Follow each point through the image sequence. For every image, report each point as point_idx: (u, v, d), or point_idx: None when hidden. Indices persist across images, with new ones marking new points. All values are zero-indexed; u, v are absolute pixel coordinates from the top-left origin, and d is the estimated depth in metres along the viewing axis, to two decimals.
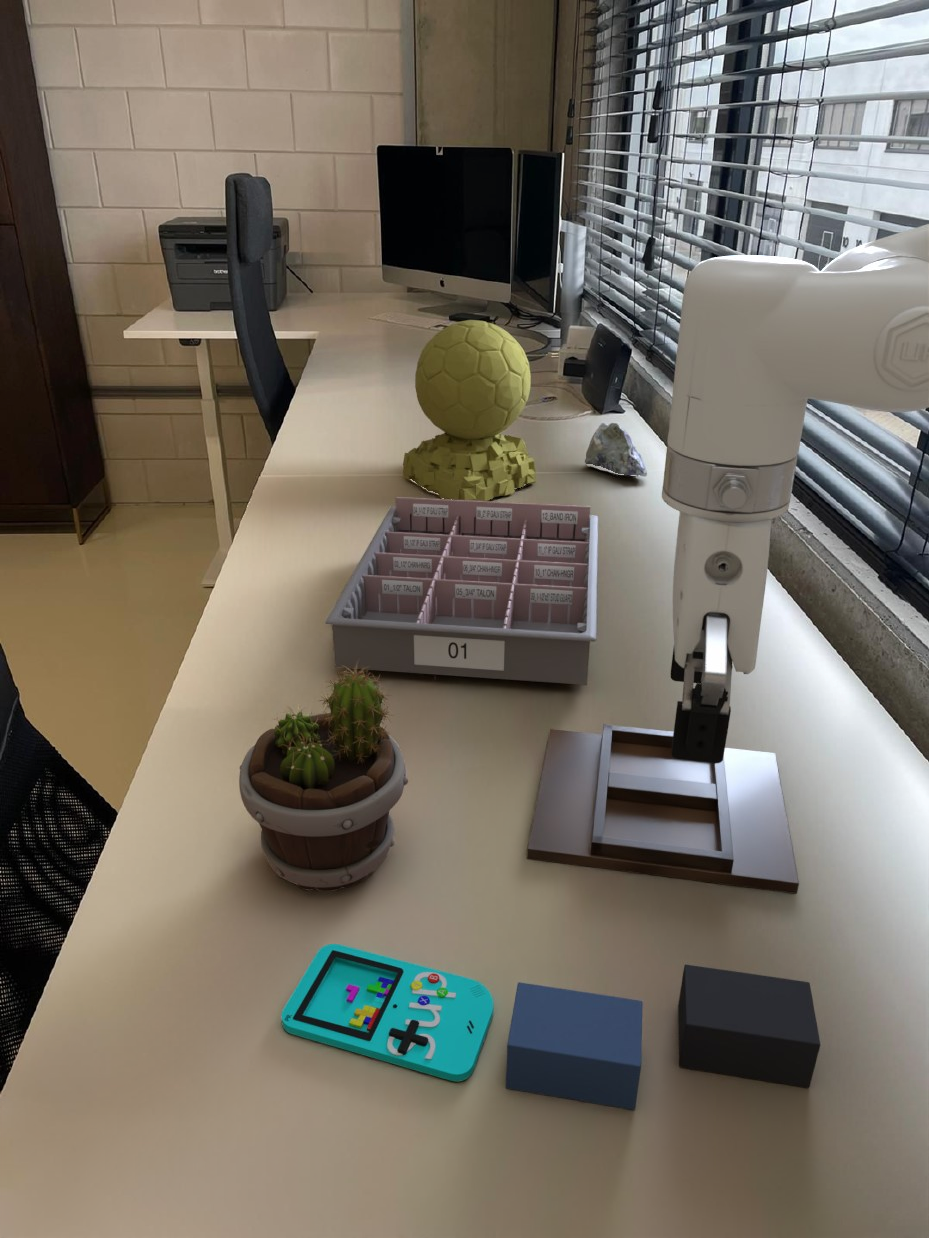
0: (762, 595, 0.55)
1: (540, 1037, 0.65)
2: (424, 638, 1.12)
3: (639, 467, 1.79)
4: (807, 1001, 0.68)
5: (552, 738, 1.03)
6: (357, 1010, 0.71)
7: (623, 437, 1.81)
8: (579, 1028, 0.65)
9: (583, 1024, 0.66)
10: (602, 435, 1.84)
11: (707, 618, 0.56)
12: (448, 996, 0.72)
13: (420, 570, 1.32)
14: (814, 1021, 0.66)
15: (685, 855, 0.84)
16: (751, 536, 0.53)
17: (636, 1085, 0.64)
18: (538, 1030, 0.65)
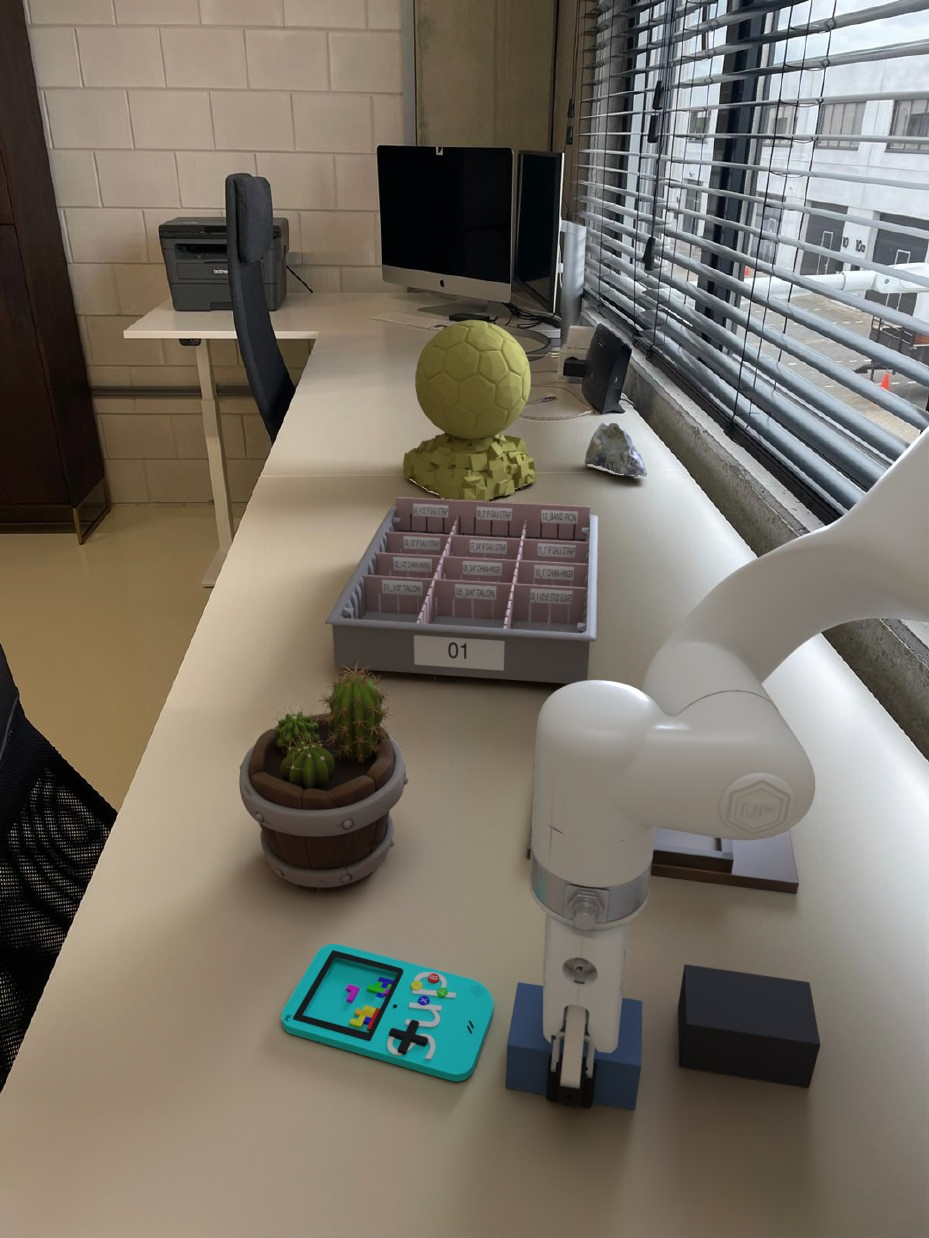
0: (618, 993, 0.58)
1: (540, 1037, 0.65)
2: (424, 638, 1.12)
3: (639, 467, 1.79)
4: (807, 1001, 0.68)
5: None
6: (357, 1010, 0.71)
7: (623, 437, 1.81)
8: None
9: None
10: (602, 435, 1.84)
11: (567, 1014, 0.59)
12: (448, 996, 0.72)
13: (420, 570, 1.32)
14: (814, 1021, 0.66)
15: (685, 855, 0.84)
16: (604, 947, 0.56)
17: (636, 1085, 0.64)
18: (538, 1030, 0.65)
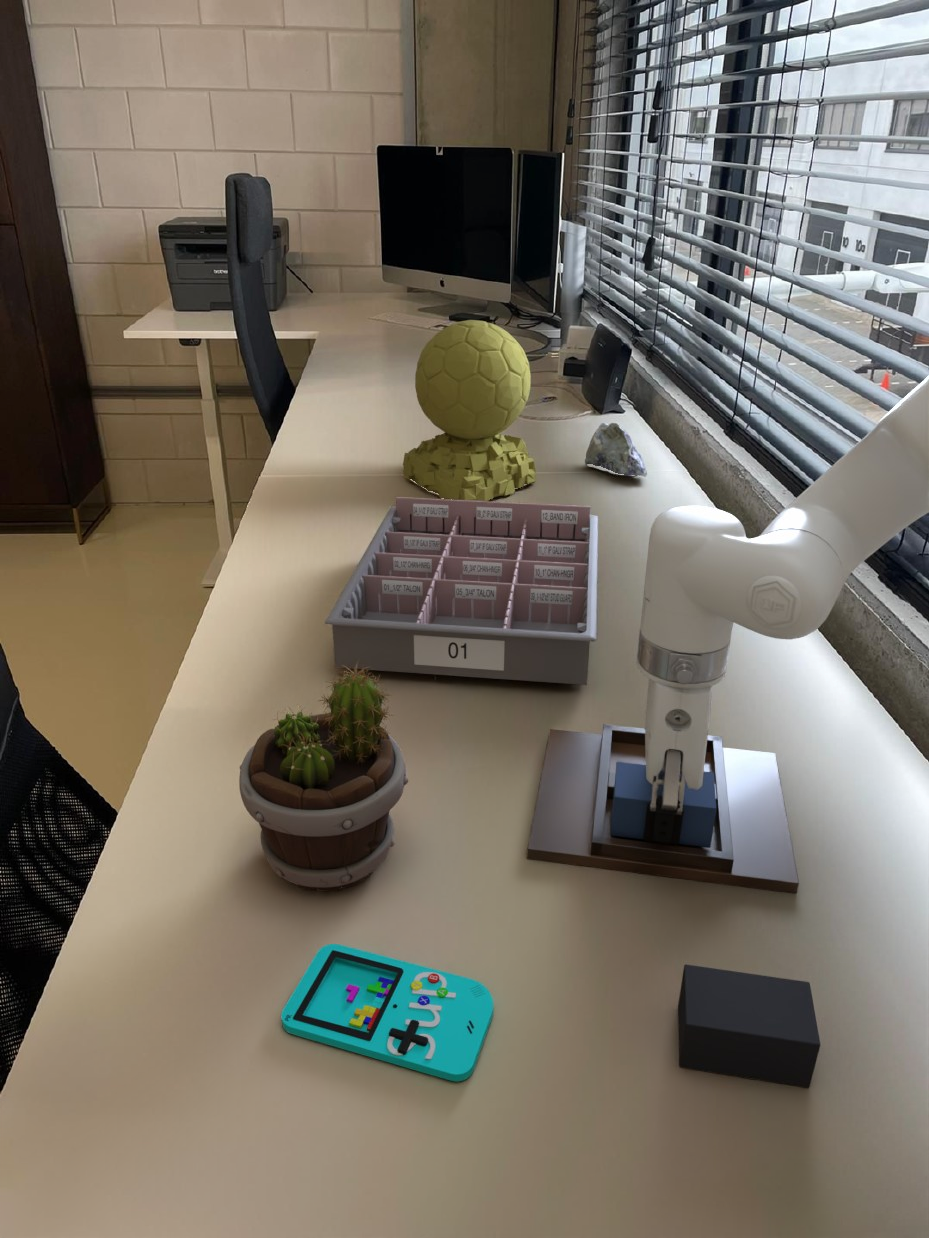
0: (705, 738, 0.78)
1: (638, 792, 0.86)
2: (424, 638, 1.12)
3: (639, 467, 1.79)
4: (807, 1001, 0.68)
5: (552, 738, 1.03)
6: (357, 1010, 0.71)
7: (623, 437, 1.81)
8: None
9: None
10: (602, 435, 1.84)
11: (667, 757, 0.80)
12: (448, 996, 0.72)
13: (420, 570, 1.32)
14: (814, 1021, 0.66)
15: (685, 855, 0.84)
16: (697, 700, 0.77)
17: (712, 825, 0.85)
18: (636, 788, 0.86)
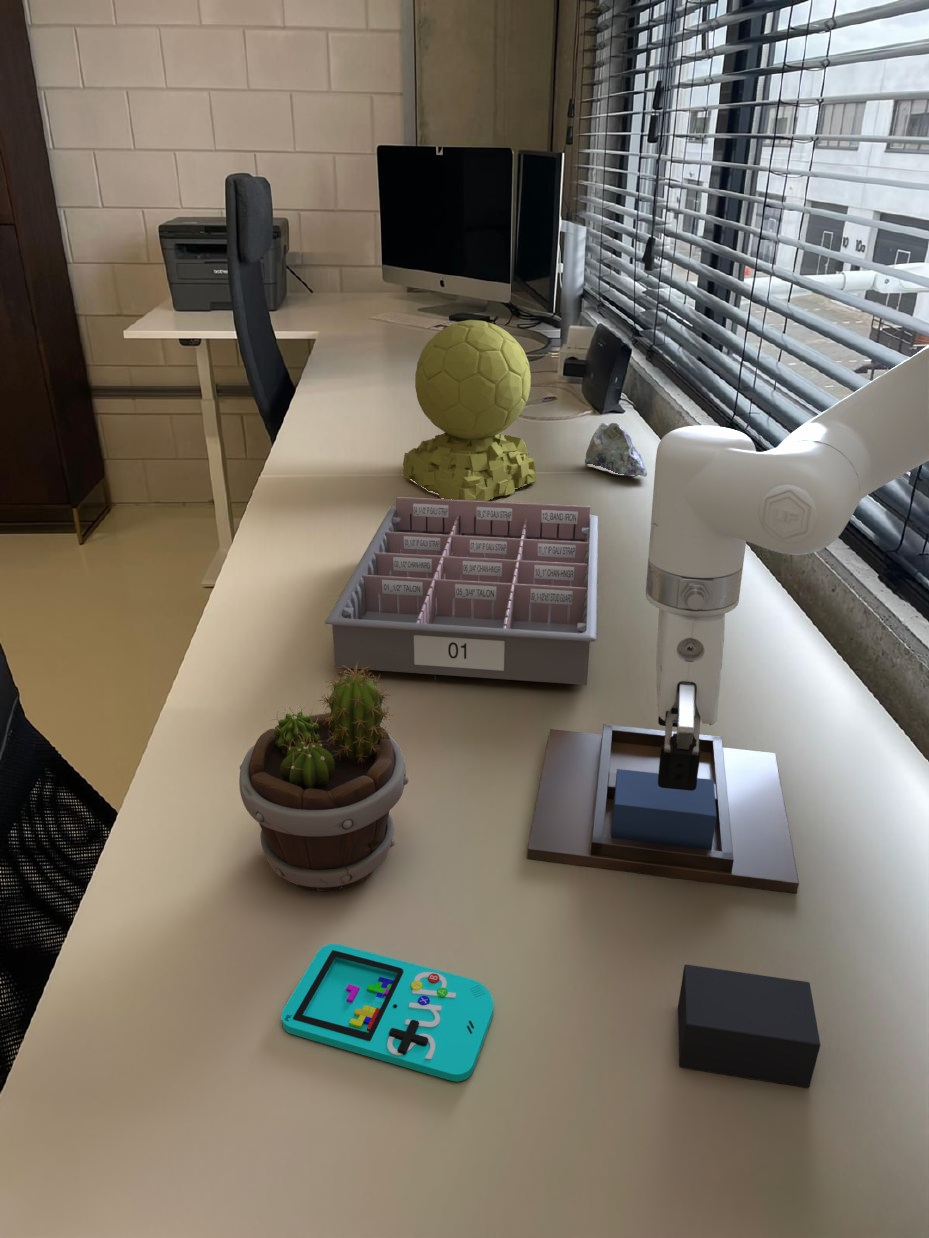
0: (719, 668, 0.75)
1: (638, 800, 0.86)
2: (424, 638, 1.12)
3: (639, 467, 1.79)
4: (807, 1001, 0.68)
5: (552, 738, 1.03)
6: (357, 1010, 0.71)
7: (623, 437, 1.81)
8: (667, 795, 0.87)
9: (670, 793, 0.87)
10: (602, 435, 1.84)
11: (680, 685, 0.76)
12: (448, 996, 0.72)
13: (420, 570, 1.32)
14: (814, 1021, 0.66)
15: (685, 855, 0.84)
16: (709, 627, 0.74)
17: (712, 833, 0.85)
18: (636, 796, 0.86)
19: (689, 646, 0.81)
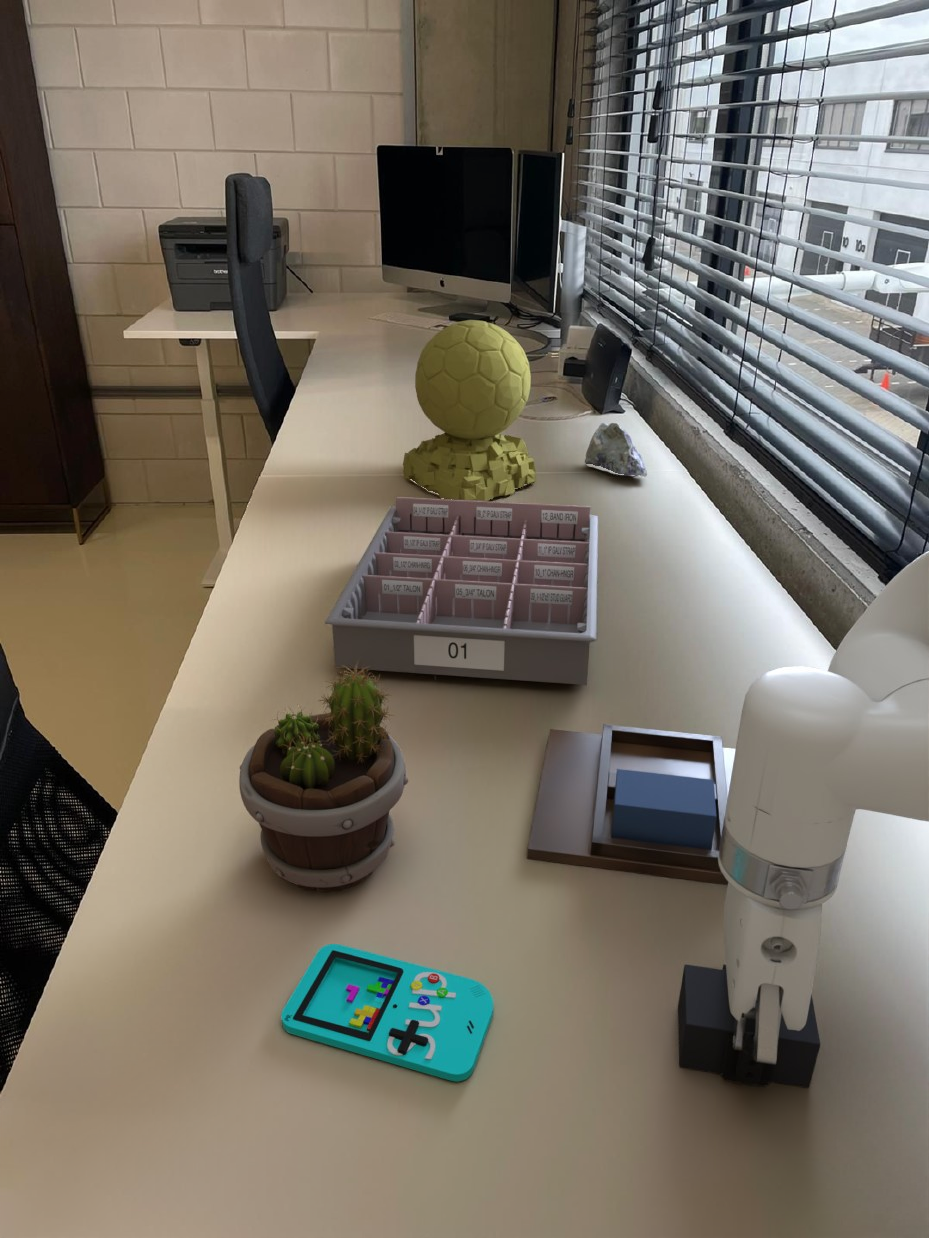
0: (814, 971, 0.59)
1: (638, 800, 0.86)
2: (424, 638, 1.12)
3: (639, 467, 1.79)
4: None
5: (552, 738, 1.03)
6: (357, 1010, 0.71)
7: (623, 437, 1.81)
8: (667, 795, 0.87)
9: (670, 793, 0.87)
10: (602, 435, 1.84)
11: (761, 993, 0.60)
12: (448, 996, 0.72)
13: (420, 570, 1.32)
14: (814, 1021, 0.66)
15: (685, 855, 0.84)
16: (805, 926, 0.58)
17: (712, 833, 0.85)
18: (636, 796, 0.86)
19: None
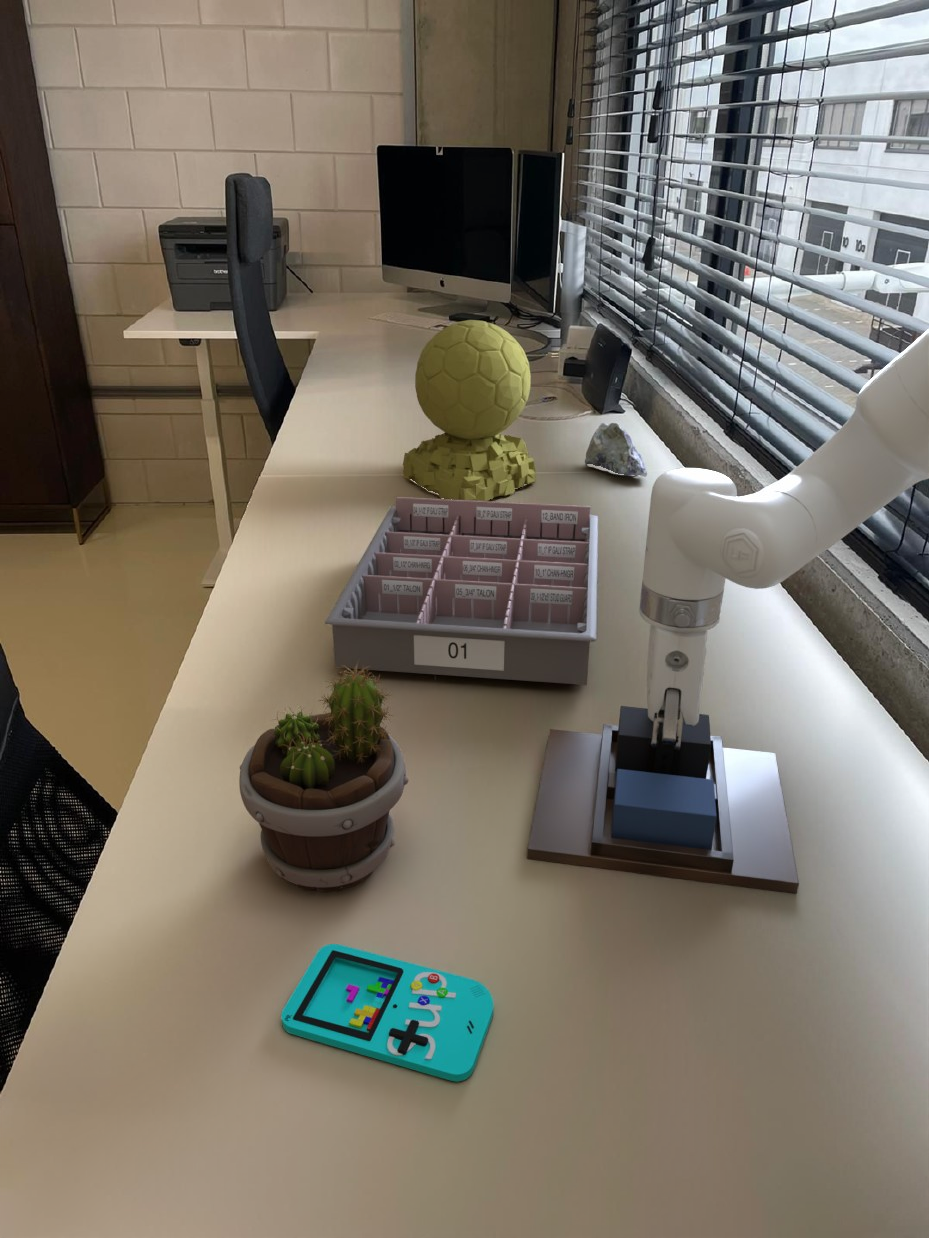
0: (701, 677, 0.87)
1: (638, 800, 0.86)
2: (424, 638, 1.12)
3: (639, 467, 1.79)
4: (705, 724, 0.96)
5: (552, 738, 1.03)
6: (357, 1010, 0.71)
7: (623, 437, 1.81)
8: (667, 795, 0.87)
9: (670, 793, 0.87)
10: (602, 435, 1.84)
11: (666, 695, 0.88)
12: (448, 996, 0.72)
13: (420, 570, 1.32)
14: (708, 733, 0.94)
15: (685, 855, 0.84)
16: (693, 642, 0.86)
17: (712, 833, 0.85)
18: (636, 796, 0.86)
19: None
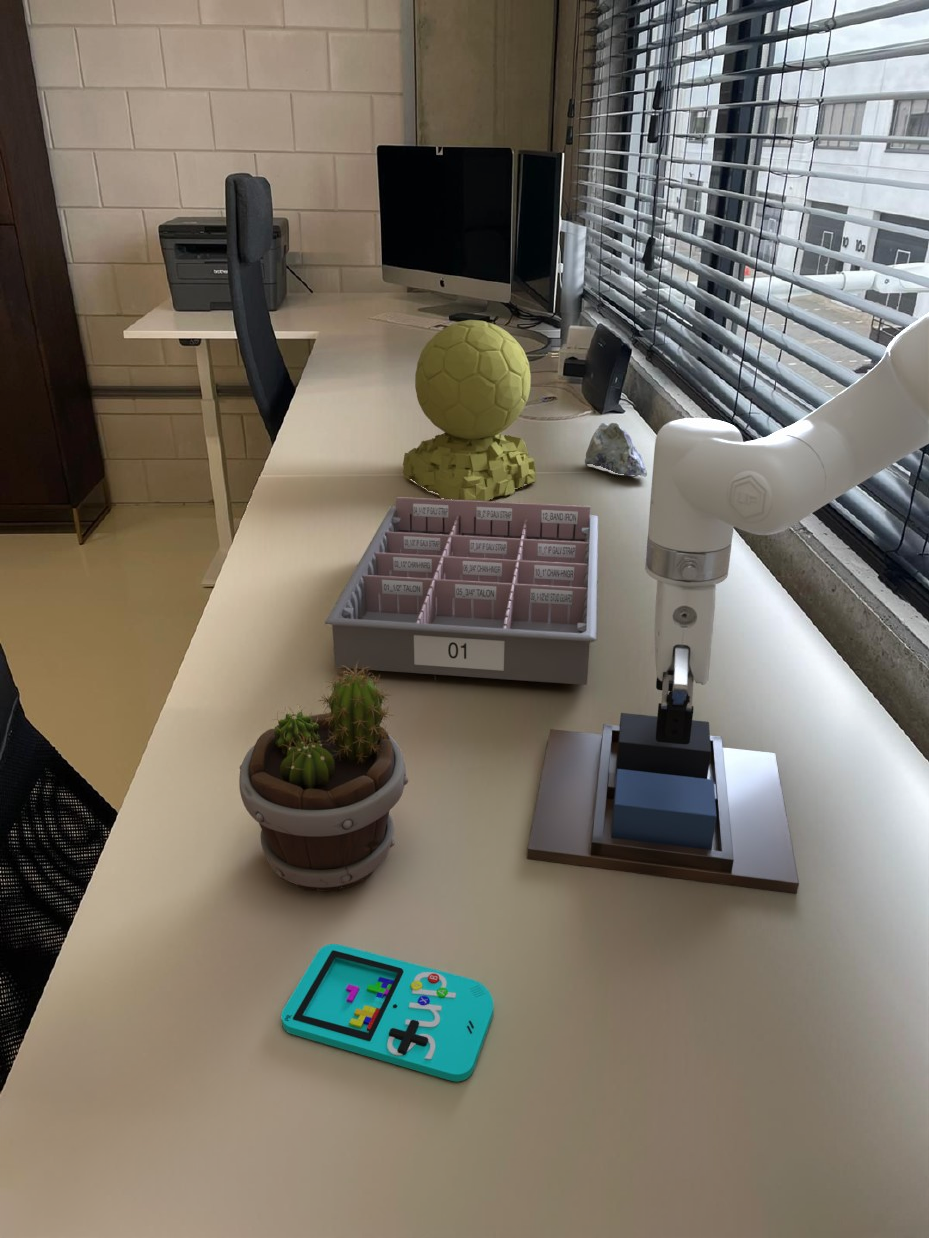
0: (710, 633, 0.85)
1: (638, 800, 0.86)
2: (424, 638, 1.12)
3: (639, 467, 1.79)
4: (705, 731, 0.96)
5: (552, 738, 1.03)
6: (357, 1010, 0.71)
7: (623, 437, 1.81)
8: (667, 795, 0.87)
9: (670, 793, 0.87)
10: (602, 435, 1.84)
11: (675, 648, 0.86)
12: (448, 996, 0.72)
13: (420, 570, 1.32)
14: (708, 740, 0.94)
15: (685, 855, 0.84)
16: (701, 596, 0.84)
17: (712, 833, 0.85)
18: (636, 796, 0.86)
19: None
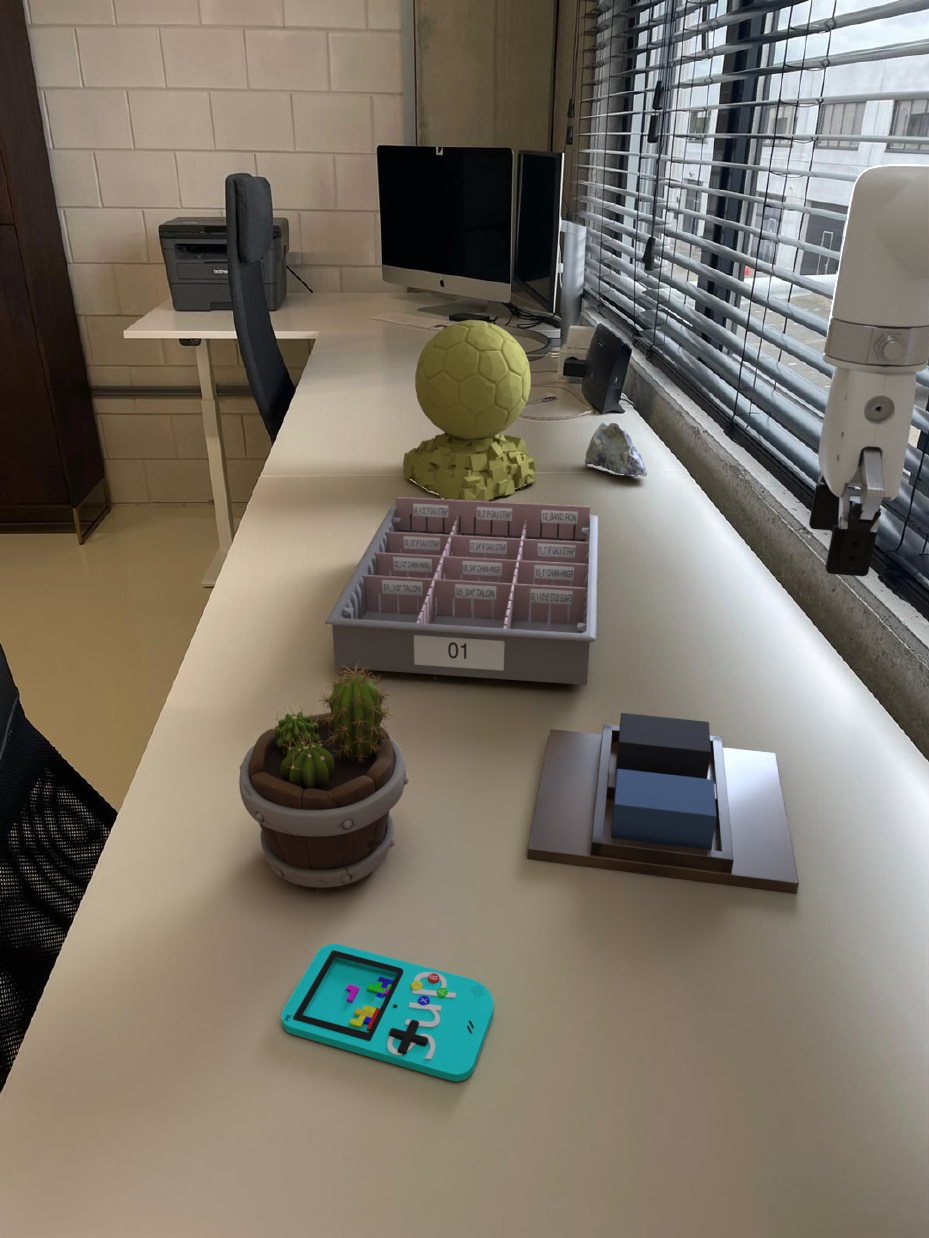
0: (908, 432, 0.70)
1: (638, 800, 0.86)
2: (424, 638, 1.12)
3: (638, 467, 1.79)
4: (705, 731, 0.96)
5: (552, 738, 1.03)
6: (357, 1010, 0.71)
7: (623, 437, 1.81)
8: (667, 795, 0.87)
9: (670, 793, 0.87)
10: (602, 435, 1.84)
11: (864, 452, 0.71)
12: (448, 996, 0.72)
13: (420, 570, 1.32)
14: (708, 740, 0.94)
15: (685, 855, 0.84)
16: (903, 383, 0.69)
17: (712, 833, 0.85)
18: (636, 796, 0.86)
19: None
